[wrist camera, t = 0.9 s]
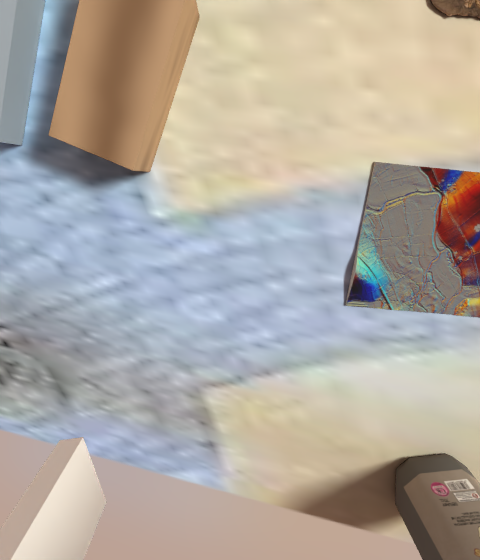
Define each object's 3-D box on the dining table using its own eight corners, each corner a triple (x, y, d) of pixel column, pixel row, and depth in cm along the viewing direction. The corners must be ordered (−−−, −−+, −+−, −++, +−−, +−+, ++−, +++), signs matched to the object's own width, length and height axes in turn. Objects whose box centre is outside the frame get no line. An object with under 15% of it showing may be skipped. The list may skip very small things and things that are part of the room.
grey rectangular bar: (-10, 133, 32) (-39, 128, 28) (20, -94, 27) (-11, -133, 23) (22, 145, 32) (-3, 141, 29) (57, -78, 27) (32, -114, 24)
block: (81, 142, 32) (48, 135, 27) (123, -20, 29) (95, -69, 23) (150, 171, 33) (132, 170, 27) (199, 18, 29) (191, -21, 24)
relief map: (343, 302, 38) (349, 309, 36) (371, 162, 34) (379, 161, 32) (554, 320, 39) (570, 327, 37) (608, 187, 35) (630, 187, 33)
